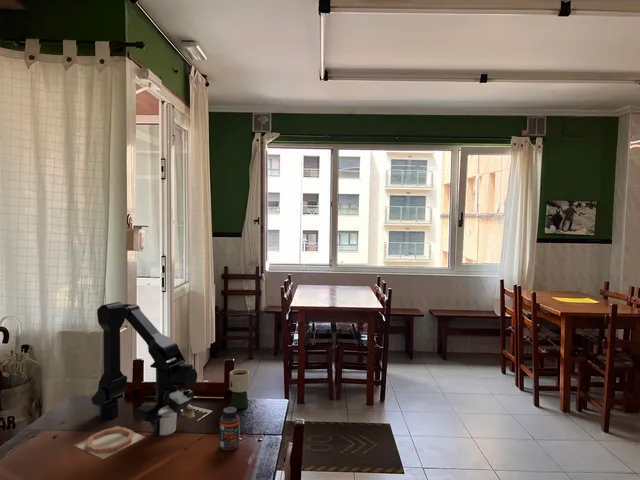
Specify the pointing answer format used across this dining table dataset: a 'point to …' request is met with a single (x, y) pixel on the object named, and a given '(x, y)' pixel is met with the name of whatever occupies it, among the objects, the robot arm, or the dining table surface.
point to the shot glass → (167, 421)
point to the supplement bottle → (229, 429)
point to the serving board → (109, 442)
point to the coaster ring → (109, 448)
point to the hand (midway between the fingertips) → (165, 430)
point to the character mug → (239, 388)
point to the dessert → (190, 413)
